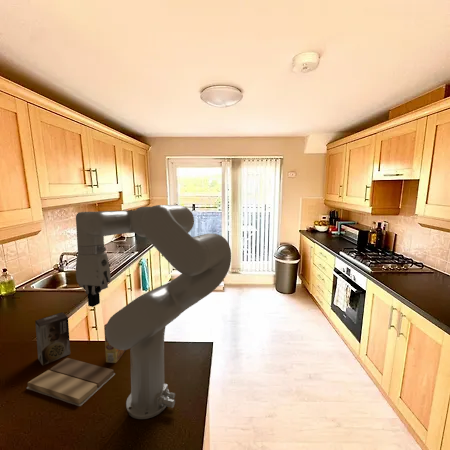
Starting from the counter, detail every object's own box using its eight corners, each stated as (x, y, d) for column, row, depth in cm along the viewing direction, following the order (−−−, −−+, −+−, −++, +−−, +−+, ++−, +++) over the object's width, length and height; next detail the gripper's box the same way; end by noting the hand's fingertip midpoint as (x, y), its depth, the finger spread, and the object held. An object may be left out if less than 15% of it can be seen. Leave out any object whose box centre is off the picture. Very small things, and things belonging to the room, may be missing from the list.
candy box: (116, 365, 88) (115, 325, 87) (105, 364, 89) (103, 325, 87) (127, 350, 97) (126, 314, 96) (117, 350, 98) (116, 314, 96)
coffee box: (65, 349, 97) (63, 311, 96) (70, 356, 93) (69, 316, 92) (37, 361, 90) (34, 319, 89) (42, 368, 86) (39, 325, 85)
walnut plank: (113, 374, 83) (113, 369, 82) (98, 387, 76) (98, 383, 76) (67, 361, 89) (67, 357, 89) (49, 373, 83) (49, 369, 82)
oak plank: (97, 388, 76) (97, 384, 76) (79, 404, 70) (79, 399, 70) (48, 374, 82) (48, 369, 82) (27, 387, 76) (27, 382, 76)
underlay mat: (115, 376, 83) (115, 373, 83) (80, 409, 70) (80, 406, 69) (67, 363, 89) (67, 360, 89) (26, 391, 76) (26, 388, 76)
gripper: (118, 249, 79) (121, 303, 81) (82, 246, 83) (85, 298, 85) (101, 253, 72) (104, 312, 73) (62, 251, 76) (66, 307, 78)
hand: (94, 304), depth 79 cm, fingers closed
